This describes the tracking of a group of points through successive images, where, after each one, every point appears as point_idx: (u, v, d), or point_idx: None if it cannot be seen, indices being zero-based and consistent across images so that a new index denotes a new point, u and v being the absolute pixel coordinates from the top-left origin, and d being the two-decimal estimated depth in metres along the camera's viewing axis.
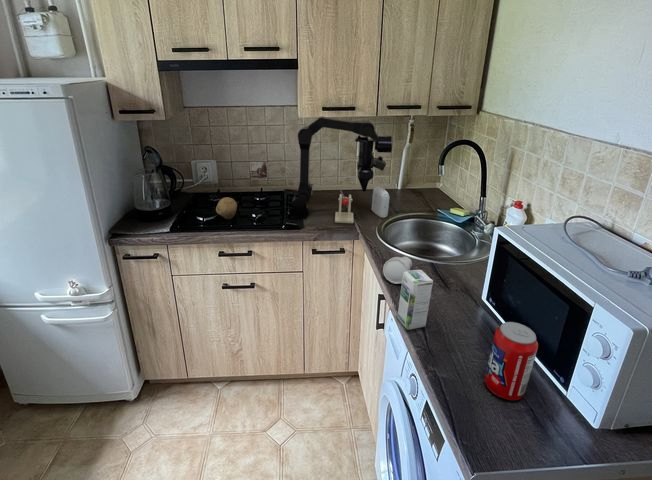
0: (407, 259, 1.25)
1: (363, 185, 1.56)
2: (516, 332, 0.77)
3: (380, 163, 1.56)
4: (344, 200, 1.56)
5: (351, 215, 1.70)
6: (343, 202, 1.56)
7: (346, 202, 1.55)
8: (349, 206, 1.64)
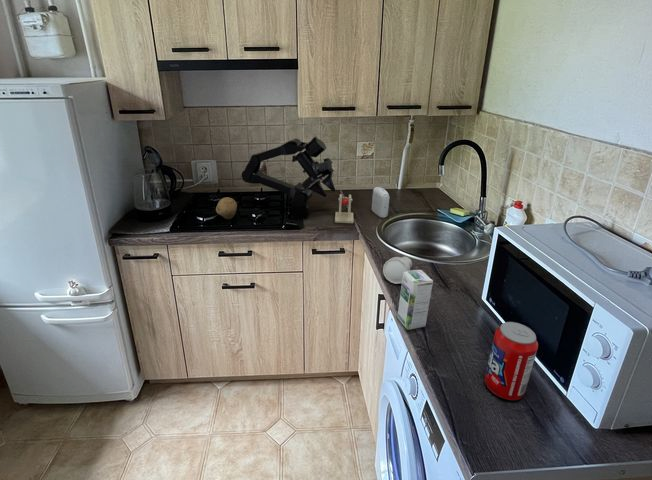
0: (407, 259, 1.25)
1: (319, 192, 1.56)
2: (516, 332, 0.77)
3: (320, 164, 1.55)
4: (344, 200, 1.56)
5: (351, 215, 1.70)
6: (343, 202, 1.56)
7: (346, 202, 1.55)
8: (349, 206, 1.64)
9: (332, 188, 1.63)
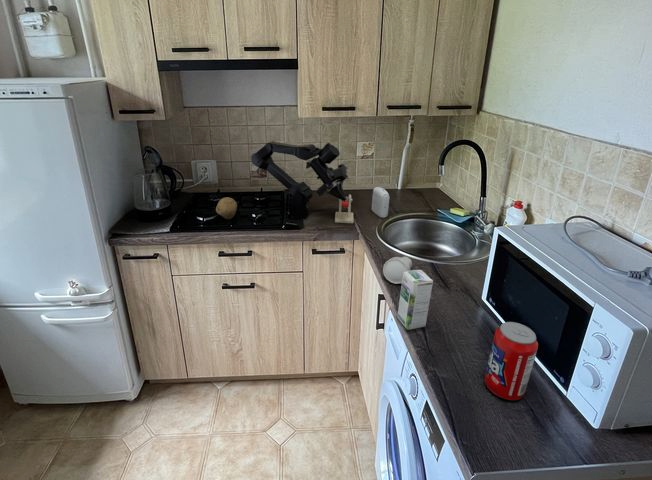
0: (407, 259, 1.25)
1: (338, 196, 1.56)
2: (516, 332, 0.77)
3: (335, 171, 1.52)
4: (344, 203, 1.56)
5: (351, 215, 1.70)
6: (343, 205, 1.56)
7: (346, 205, 1.56)
8: (349, 206, 1.64)
9: None
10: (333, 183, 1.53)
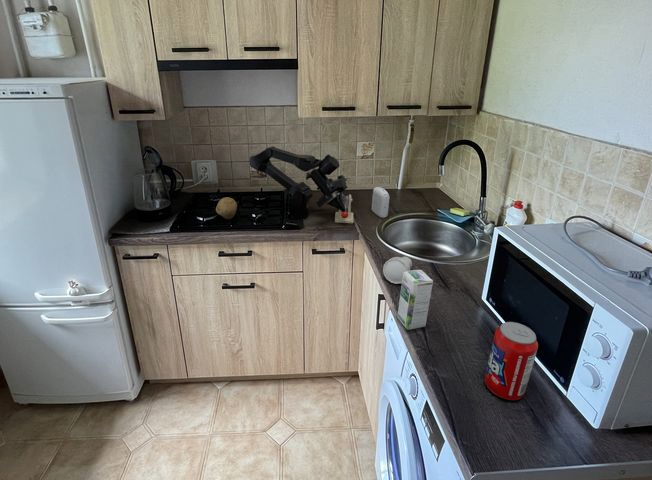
0: (407, 259, 1.25)
1: (338, 207, 1.58)
2: (516, 332, 0.77)
3: (335, 182, 1.54)
4: (343, 215, 1.58)
5: (351, 215, 1.70)
6: (342, 217, 1.59)
7: (345, 217, 1.59)
8: (349, 206, 1.64)
9: None
10: (333, 194, 1.56)
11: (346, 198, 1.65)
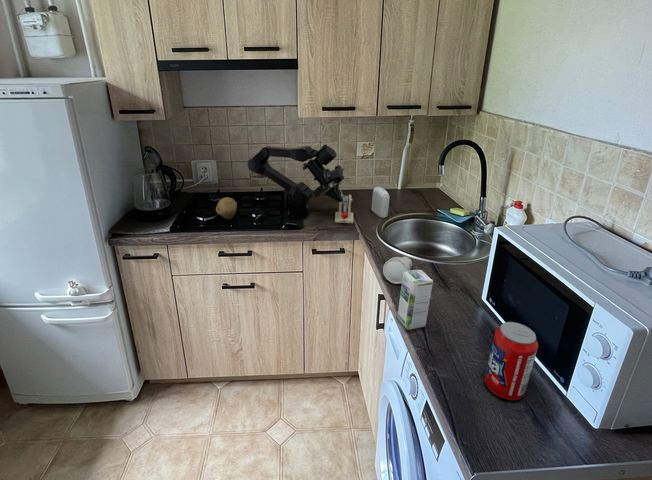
0: (407, 259, 1.25)
1: (335, 197, 1.57)
2: (516, 332, 0.77)
3: (332, 172, 1.53)
4: (343, 216, 1.58)
5: (351, 215, 1.70)
6: (342, 217, 1.59)
7: (345, 217, 1.59)
8: (349, 206, 1.64)
9: None
10: (330, 184, 1.55)
11: (346, 198, 1.65)
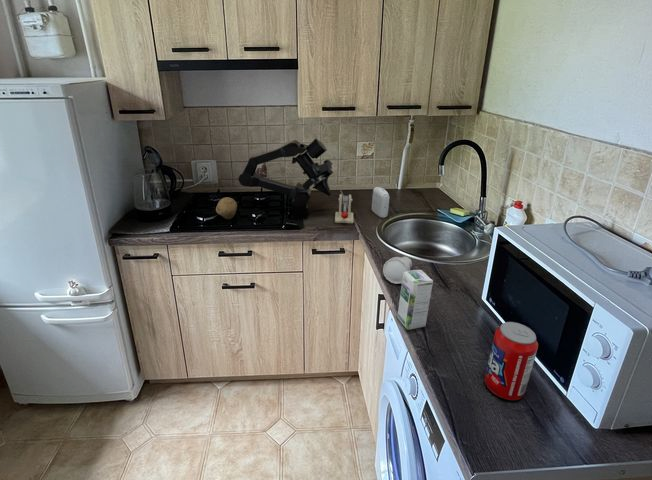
0: (407, 259, 1.25)
1: (324, 191, 1.60)
2: (516, 332, 0.77)
3: (321, 166, 1.55)
4: (343, 216, 1.58)
5: (351, 215, 1.70)
6: (342, 217, 1.59)
7: (345, 217, 1.59)
8: (349, 206, 1.64)
9: None
10: (319, 178, 1.57)
11: (346, 198, 1.65)
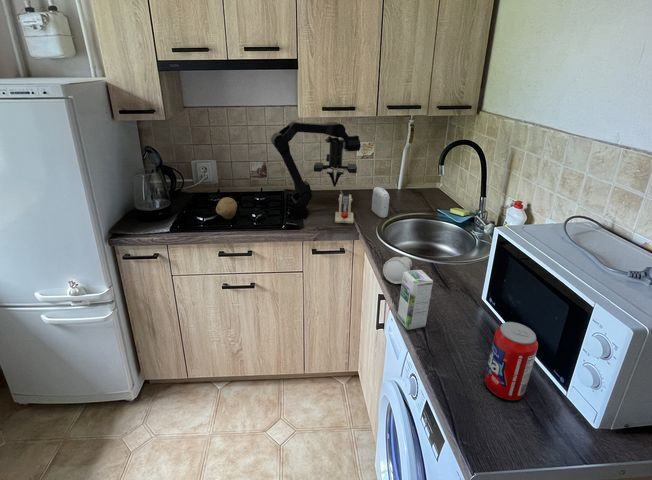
0: (407, 259, 1.25)
1: (337, 180, 1.69)
2: (516, 332, 0.77)
3: None
4: (343, 216, 1.58)
5: (351, 215, 1.70)
6: (342, 217, 1.59)
7: (345, 217, 1.59)
8: (349, 206, 1.64)
9: None
10: None
11: (346, 198, 1.65)
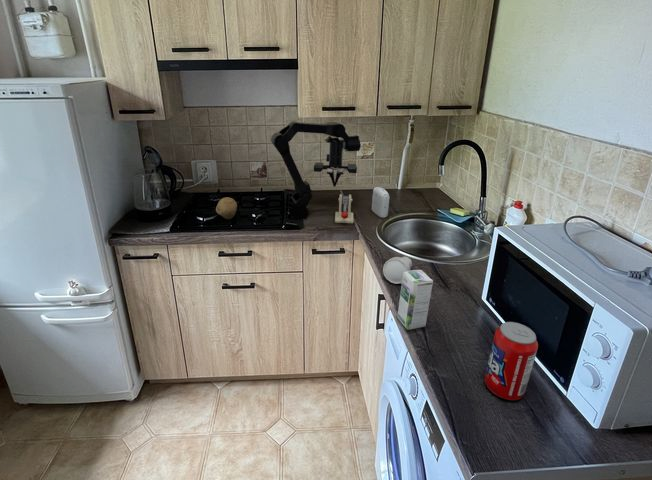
0: (407, 259, 1.25)
1: (337, 180, 1.69)
2: (516, 332, 0.77)
3: None
4: (343, 216, 1.58)
5: (351, 215, 1.70)
6: (342, 217, 1.59)
7: (345, 217, 1.59)
8: (349, 206, 1.64)
9: None
10: None
11: (346, 198, 1.65)
